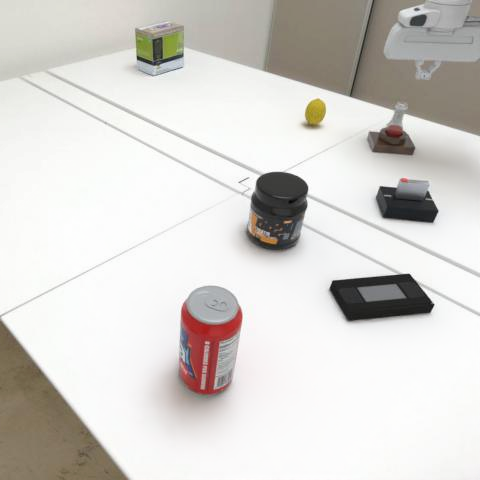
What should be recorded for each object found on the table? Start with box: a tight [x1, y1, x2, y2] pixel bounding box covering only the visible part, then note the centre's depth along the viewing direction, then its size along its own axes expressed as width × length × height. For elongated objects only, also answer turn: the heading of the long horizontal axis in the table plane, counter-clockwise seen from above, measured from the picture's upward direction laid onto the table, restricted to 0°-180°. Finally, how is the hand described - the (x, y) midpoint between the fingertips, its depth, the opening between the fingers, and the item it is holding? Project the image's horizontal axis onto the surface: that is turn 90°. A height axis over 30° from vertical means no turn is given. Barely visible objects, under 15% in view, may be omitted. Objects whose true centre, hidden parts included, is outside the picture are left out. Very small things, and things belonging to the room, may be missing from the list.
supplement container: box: [246, 171, 309, 250], centre depth 88 cm, size 10×10×12 cm
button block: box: [366, 127, 416, 156], centre depth 120 cm, size 10×8×4 cm
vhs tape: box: [329, 273, 435, 322], centre depth 77 cm, size 8×14×2 cm, turn 97°
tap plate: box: [375, 185, 440, 224], centre depth 98 cm, size 10×8×3 cm
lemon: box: [304, 97, 327, 127], centre depth 129 cm, size 6×6×8 cm
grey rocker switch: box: [394, 177, 431, 201], centre depth 95 cm, size 6×2×4 cm, turn 80°
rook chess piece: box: [385, 101, 409, 129], centre depth 126 cm, size 4×4×8 cm
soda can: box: [178, 285, 244, 396], centre depth 62 cm, size 8×8×15 cm
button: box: [386, 125, 404, 137], centre depth 118 cm, size 4×4×2 cm
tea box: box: [134, 20, 185, 76], centre depth 165 cm, size 15×10×15 cm, turn 130°
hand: (422, 78), depth 109 cm, fingers closed
